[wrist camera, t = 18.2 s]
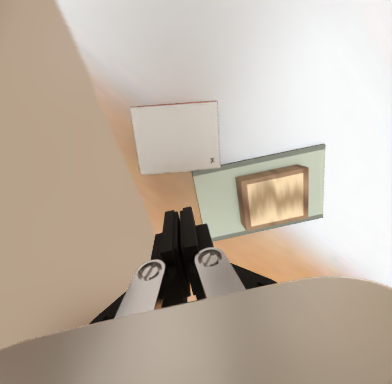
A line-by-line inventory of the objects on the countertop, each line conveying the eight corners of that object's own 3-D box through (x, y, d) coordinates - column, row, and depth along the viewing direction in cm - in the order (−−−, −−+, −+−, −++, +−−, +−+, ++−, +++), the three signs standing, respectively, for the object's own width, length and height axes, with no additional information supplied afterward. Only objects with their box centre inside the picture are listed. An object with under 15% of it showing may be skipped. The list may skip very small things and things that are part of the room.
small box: (202, 112, 29) (219, 99, 17) (204, 154, 31) (222, 169, 19) (149, 116, 29) (127, 106, 16) (155, 158, 31) (140, 177, 18)
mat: (191, 171, 32) (192, 172, 31) (322, 143, 32) (325, 144, 32) (206, 241, 36) (206, 242, 36) (320, 216, 37) (322, 217, 36)
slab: (240, 181, 29) (308, 167, 30) (235, 177, 32) (297, 164, 32) (246, 231, 32) (308, 217, 32) (241, 223, 35) (297, 210, 35)
